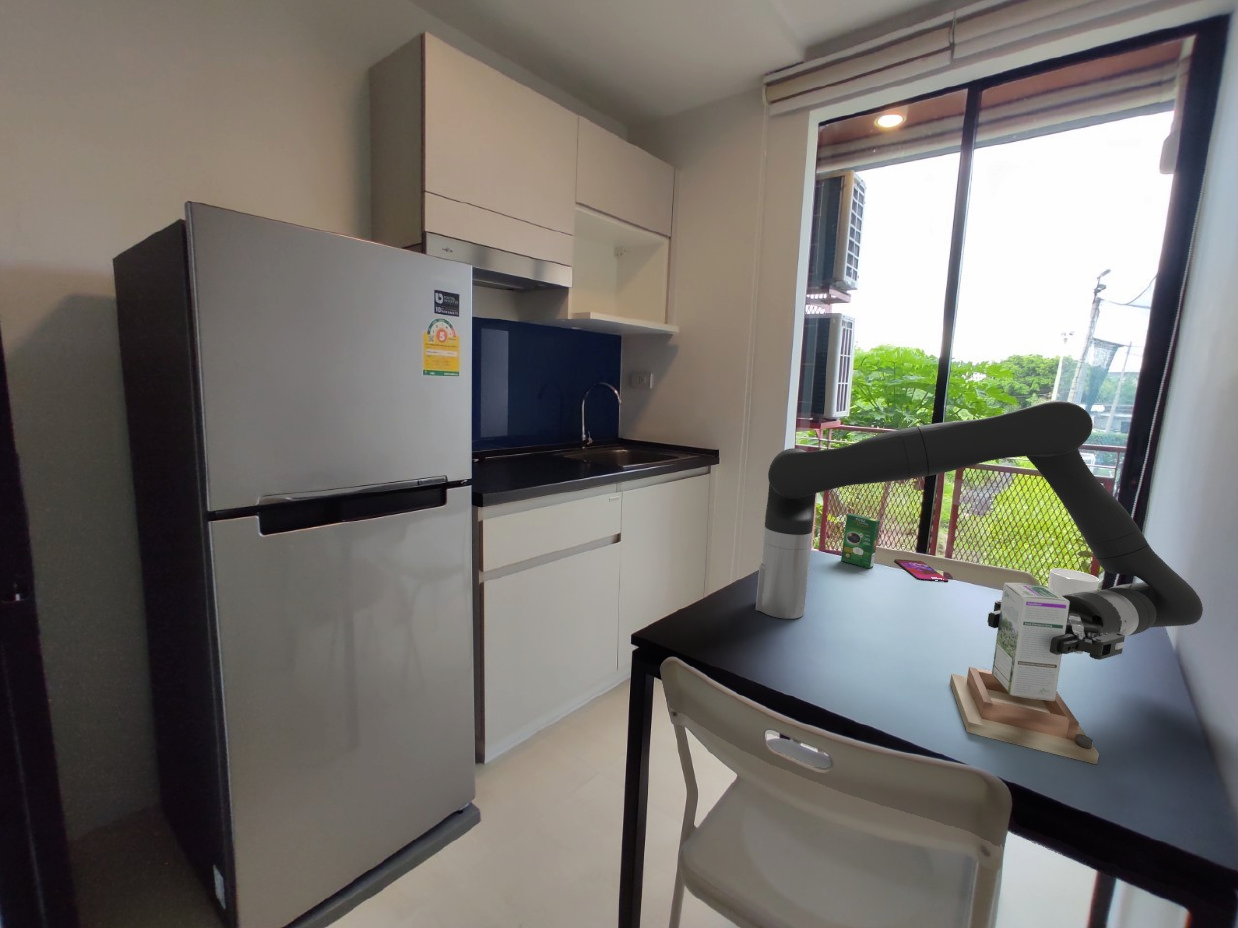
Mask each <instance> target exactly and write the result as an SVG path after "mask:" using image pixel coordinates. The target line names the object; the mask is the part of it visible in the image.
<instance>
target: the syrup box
mask: <svg viewBox="0 0 1238 928" xmlns="http://www.w3.org/2000/svg"><path fill="white" fill-rule="evenodd" d="M1001 600H1002V602H1001V609H1000V617H999V624H998V628H997V633H996V640H995V647H994V656H993V663H992V675H993V676H994V678H995V679H996V680H997V681H998V682H999V683H1000V684H1001V685H1002V686H1003V687H1004V689H1005V690H1006V691H1007V692H1008V693H1009V694H1010V695H1013V696H1018V697H1024V698H1031V699H1040V700H1049V701H1054V700H1055V696H1056V691H1057V689H1058V681H1059V676H1060V675H1059V674H1060V670H1061V669H1060V668H1061V664H1062V663H1061V662H1062V657H1063V654H1059V655H1055V654H1053V653H1051V652H1050V645H1051V640H1052V638H1053V637H1056V636H1060V635H1065V630H1066V623H1067V617H1068V610H1069V603H1070V602H1069V600H1067V599H1065V598H1064V597H1062V596H1061V595H1059V594H1058V593H1056V592H1054V591H1053V590H1051V589H1050V588H1048V585H1042V584H1041V585H1040V584H1037V583H1036V584H1035V583H1029V582H1004V583H1003V588H1002V596H1001Z"/></svg>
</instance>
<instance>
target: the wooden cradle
mask: <svg viewBox="0 0 1238 928" xmlns="http://www.w3.org/2000/svg"><path fill="white" fill-rule="evenodd" d="M949 683H950V686H951V689H952V692H953V695H954V699H955V701H956V704H957V706H958V710H959V713H960V715H961V718H962V721H963V723H964V727H965V730H966V732H967V733H969V734H972V735H975V736H981V737H985V738H988V739H993V740H997V741H1001V742H1005V743H1010V744H1013V745H1018V746H1021V747H1026V748H1029V749H1033V750H1037V751H1041V752H1045V753H1048V754H1053V755H1058V756H1061V757H1064V758H1070V759H1074V760H1077V761H1081V762H1086V763H1090V764H1094V765H1098V759H1099V754H1100V753H1099V752H1098V750H1097V749H1096V747H1095V745H1093V739H1092V738H1091V737H1090V736H1088V735H1087V734H1086V733H1085V731H1084V729H1083V728H1082V727H1081V725H1080V723H1079V721H1078V720H1077V719H1076V717H1075V715H1074V714H1073V713H1072V711H1071V710H1070V708H1069V707H1068V706H1067V704H1066V702H1065V701H1064V700H1063V698H1062V696H1061V695H1060V694H1059V693H1058V691H1057V690H1056V696H1055V700H1054V701H1049V700H1040V699H1031V698H1024V697H1018V696H1013V695H1010V694H1009V693H1008V692H1007V691H1006V690H1005V689H1004V687H1003V686H1002V685H1001V684H1000V683H999V682H998V681H997V680H996V679H995V678H994V676H993V675H992V671H991V670H986V669H982V668H977V667H972V666H968V672H967V676H965V675H961V674H955V673H951V675H950V680H949Z"/></svg>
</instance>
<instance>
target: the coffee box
mask: <svg viewBox="0 0 1238 928" xmlns="http://www.w3.org/2000/svg"><path fill="white" fill-rule="evenodd" d="M880 524H881V520H880V519H878V518H873V517H869V516H865V515H864V516H863V515H859V514H855V513H847V514H846V519H845V527H844V534H843V542H842V550H841V557H840V561H841V562H844V563H847V564H852V565H855V566H859V567H862V568H866V569H869V570H870V569H872V568H873V567H874V564H875V557H876V550H877V545H878V544H877V543H878V538H879V537H878V536H879V531H880Z"/></svg>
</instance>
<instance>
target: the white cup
mask: <svg viewBox="0 0 1238 928" xmlns="http://www.w3.org/2000/svg"><path fill="white" fill-rule="evenodd" d="M1099 583H1100V578H1098V577H1097V576H1095V575H1092V574H1089V573H1087V572H1083V571H1079V570H1074V569H1069V568H1060V567H1054V568H1051V569H1049V576H1048V584H1047V587H1048V588H1050V589H1051V590H1053V591H1054V592H1056V593H1058V594H1059V595H1061V596H1062V595H1068V594H1073V593H1078V592H1084V591H1090V590H1098V588H1099Z"/></svg>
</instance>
